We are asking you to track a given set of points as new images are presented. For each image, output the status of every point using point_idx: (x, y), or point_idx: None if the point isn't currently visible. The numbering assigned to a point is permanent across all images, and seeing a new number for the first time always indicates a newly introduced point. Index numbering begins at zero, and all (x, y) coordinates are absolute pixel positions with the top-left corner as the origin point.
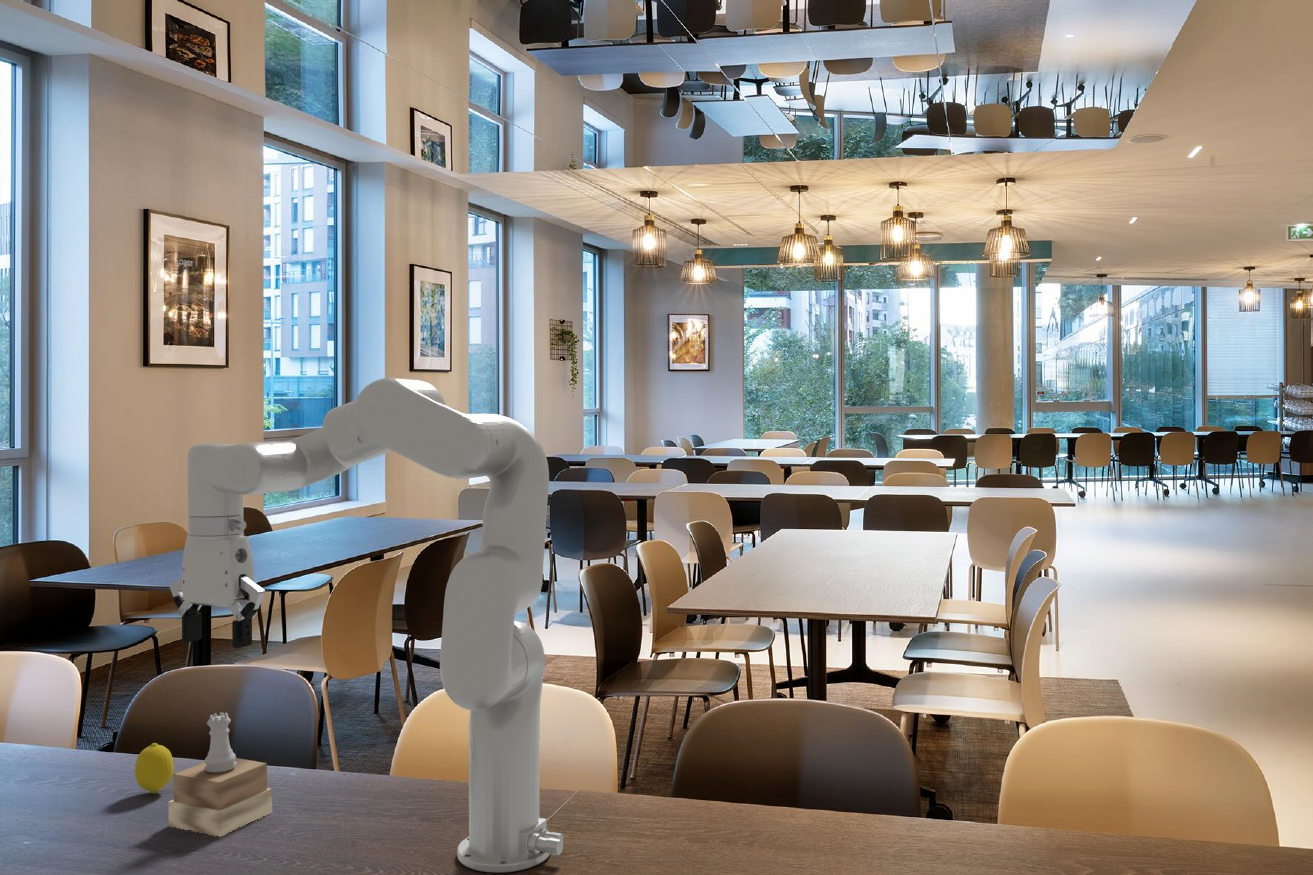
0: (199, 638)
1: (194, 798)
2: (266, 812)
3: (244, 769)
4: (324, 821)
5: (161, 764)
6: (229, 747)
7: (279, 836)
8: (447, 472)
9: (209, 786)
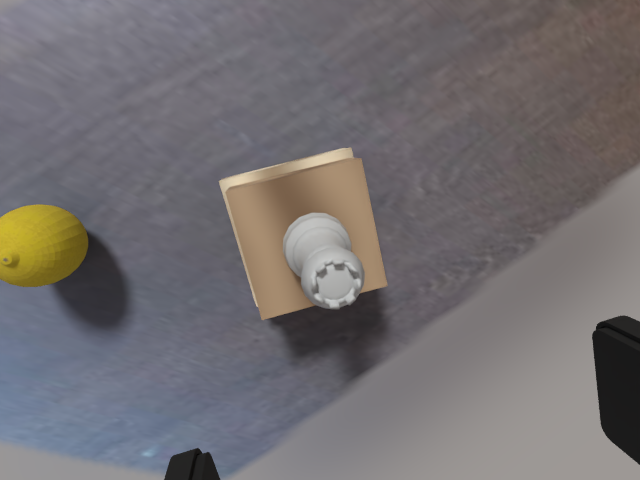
0: (212, 468)
1: None
2: None
3: (359, 213)
4: (449, 116)
5: (73, 250)
6: (340, 242)
7: (439, 201)
8: None
9: None
